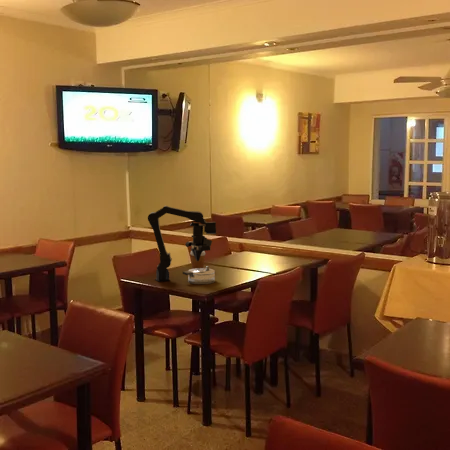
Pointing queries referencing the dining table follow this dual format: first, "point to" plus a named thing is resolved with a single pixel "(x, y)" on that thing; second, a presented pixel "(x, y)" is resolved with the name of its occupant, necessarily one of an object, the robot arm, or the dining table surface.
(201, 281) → the pot
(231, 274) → the dining table surface
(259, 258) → the dining table surface
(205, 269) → the lid
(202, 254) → the disposable coffee cup
